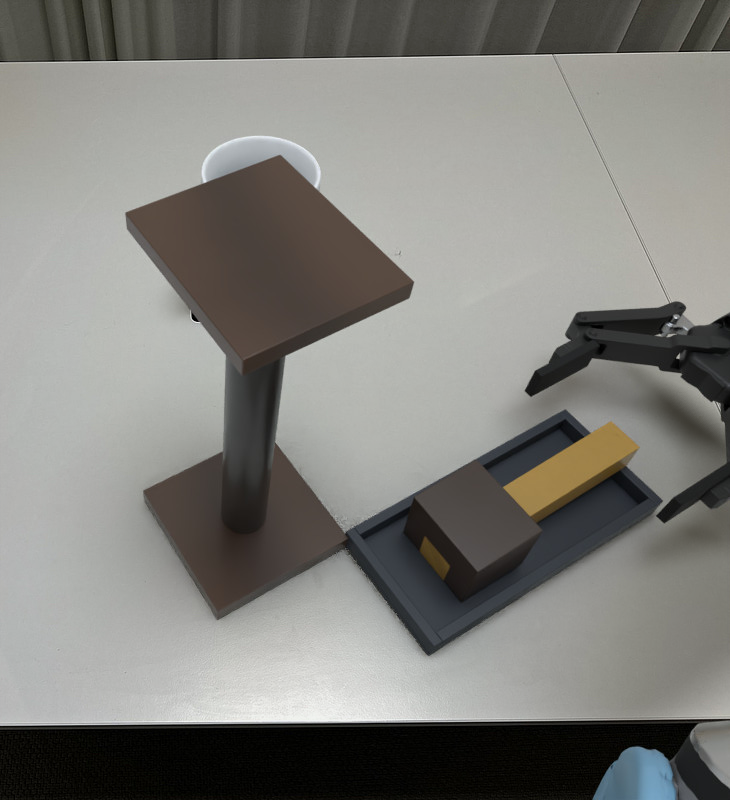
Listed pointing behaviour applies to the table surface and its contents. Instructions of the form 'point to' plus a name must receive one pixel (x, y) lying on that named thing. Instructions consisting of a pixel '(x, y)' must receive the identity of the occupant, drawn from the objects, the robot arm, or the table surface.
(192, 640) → the table surface
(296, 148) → the mug
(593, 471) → the mallet
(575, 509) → the tray
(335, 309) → the pedestal stand
